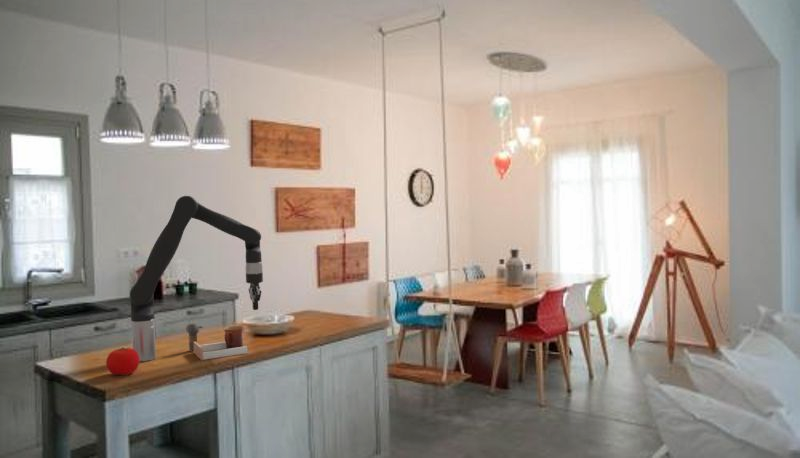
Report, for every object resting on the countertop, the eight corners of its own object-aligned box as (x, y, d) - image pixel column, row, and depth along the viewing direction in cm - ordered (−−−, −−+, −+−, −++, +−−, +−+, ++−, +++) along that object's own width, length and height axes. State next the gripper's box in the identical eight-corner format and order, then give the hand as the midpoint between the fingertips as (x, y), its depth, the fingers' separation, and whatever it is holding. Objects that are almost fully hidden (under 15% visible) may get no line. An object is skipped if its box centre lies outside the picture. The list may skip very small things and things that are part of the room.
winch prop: (188, 352, 268) (187, 325, 267) (186, 350, 272) (185, 323, 271) (204, 350, 271) (203, 323, 271) (202, 348, 275) (201, 321, 275)
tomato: (145, 369, 240) (144, 344, 240) (129, 378, 228) (128, 351, 228) (118, 370, 241) (117, 344, 240) (101, 378, 229) (99, 351, 228)
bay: (201, 360, 254) (200, 348, 253) (193, 352, 267) (193, 341, 267) (247, 353, 264) (247, 342, 263) (238, 346, 277) (238, 335, 277)
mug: (230, 347, 275) (229, 325, 274) (247, 348, 273) (247, 326, 273) (217, 354, 263) (216, 331, 263) (235, 354, 261) (234, 331, 261)
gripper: (242, 271, 276) (243, 308, 277) (250, 274, 265) (251, 312, 265) (258, 270, 280) (259, 306, 281) (266, 272, 268) (267, 310, 269)
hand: (255, 309), depth 273 cm, fingers closed
